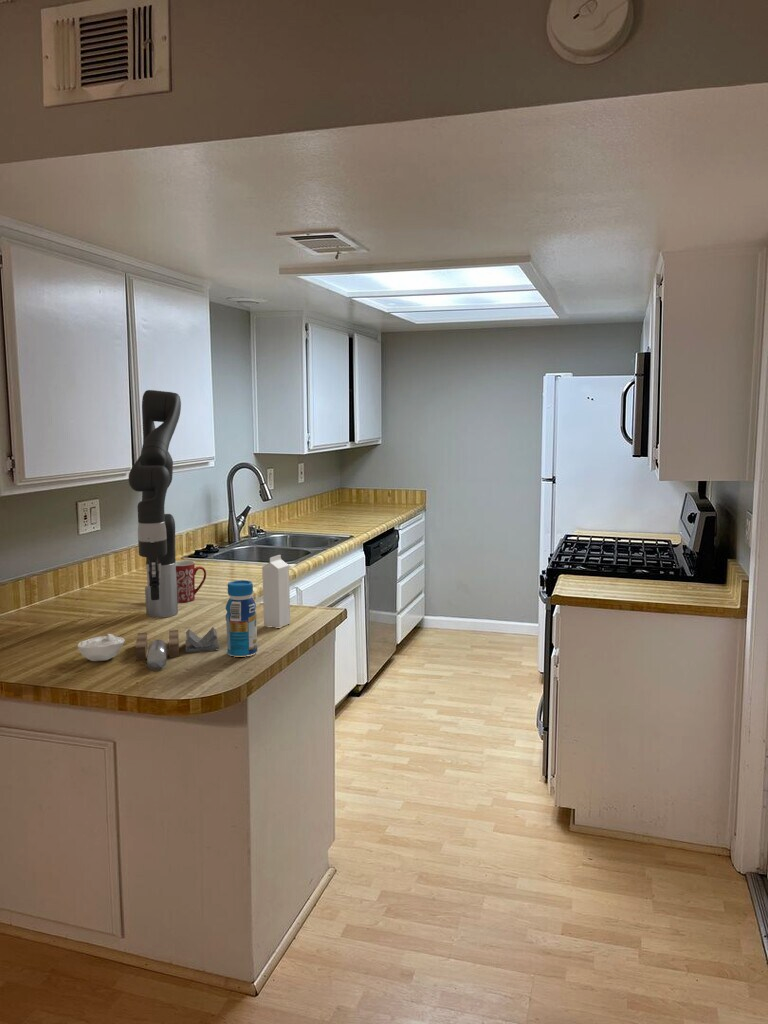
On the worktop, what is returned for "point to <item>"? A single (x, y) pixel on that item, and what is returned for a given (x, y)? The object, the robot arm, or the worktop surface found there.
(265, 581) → the milk
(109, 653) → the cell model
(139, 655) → the slotted block
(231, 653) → the beverage bottle
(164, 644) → the grey metal cylinder
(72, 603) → the worktop surface
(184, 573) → the mug
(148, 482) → the robot arm
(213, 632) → the v block
